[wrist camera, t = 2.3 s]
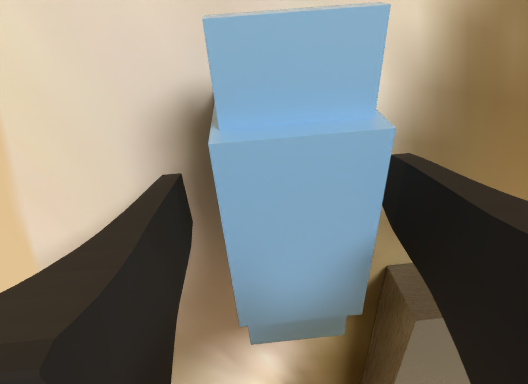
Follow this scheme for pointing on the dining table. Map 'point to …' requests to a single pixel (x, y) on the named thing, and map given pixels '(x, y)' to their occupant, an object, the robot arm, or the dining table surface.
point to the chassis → (410, 335)
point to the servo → (299, 161)
